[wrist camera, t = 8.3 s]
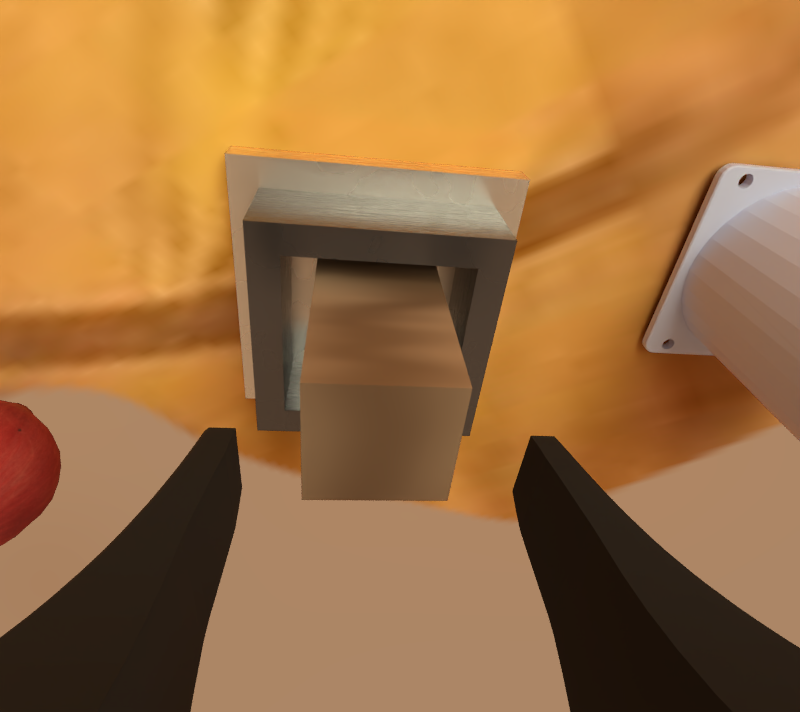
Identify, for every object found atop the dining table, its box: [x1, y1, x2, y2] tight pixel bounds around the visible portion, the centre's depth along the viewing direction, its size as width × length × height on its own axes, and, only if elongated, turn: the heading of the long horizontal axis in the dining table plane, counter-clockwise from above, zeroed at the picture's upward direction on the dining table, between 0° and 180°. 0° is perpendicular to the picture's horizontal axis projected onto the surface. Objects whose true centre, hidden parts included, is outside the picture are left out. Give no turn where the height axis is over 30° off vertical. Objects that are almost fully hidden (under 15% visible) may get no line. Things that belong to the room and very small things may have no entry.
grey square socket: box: [225, 146, 530, 436], centre depth 19 cm, size 10×10×4 cm
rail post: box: [300, 258, 472, 501], centre depth 16 cm, size 4×4×8 cm
